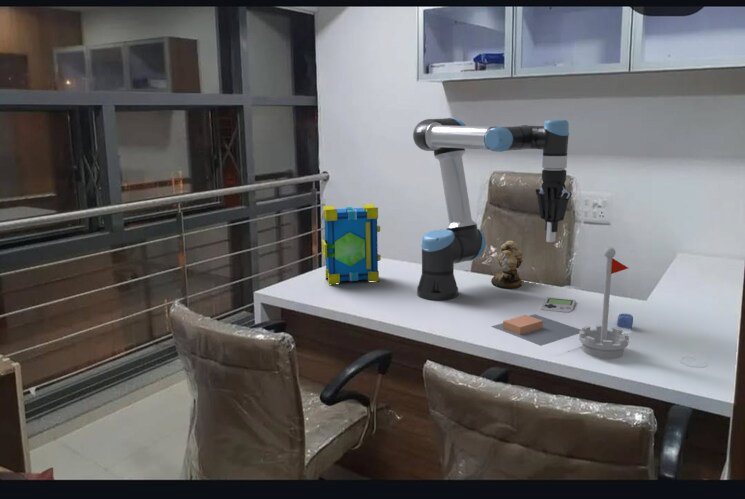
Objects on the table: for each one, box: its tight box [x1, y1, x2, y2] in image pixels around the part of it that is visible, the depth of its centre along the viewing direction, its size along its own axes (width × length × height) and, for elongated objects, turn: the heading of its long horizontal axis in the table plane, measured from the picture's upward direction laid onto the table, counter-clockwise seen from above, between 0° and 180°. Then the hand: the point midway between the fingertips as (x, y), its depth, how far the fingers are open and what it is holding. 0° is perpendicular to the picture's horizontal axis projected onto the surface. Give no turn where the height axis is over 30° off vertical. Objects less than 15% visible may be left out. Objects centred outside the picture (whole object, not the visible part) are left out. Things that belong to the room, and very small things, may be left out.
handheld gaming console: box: [540, 296, 577, 314], centre depth 216 cm, size 10×2×15 cm
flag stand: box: [578, 247, 630, 360], centre depth 173 cm, size 13×13×30 cm
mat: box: [491, 313, 582, 347], centre depth 193 cm, size 20×20×1 cm
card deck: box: [502, 314, 543, 335], centre depth 194 cm, size 7×2×10 cm
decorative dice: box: [616, 313, 634, 330], centre depth 195 cm, size 4×4×4 cm
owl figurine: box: [490, 240, 523, 290], centre depth 244 cm, size 18×12×17 cm, turn 175°
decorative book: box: [321, 203, 382, 285], centre depth 249 cm, size 14×23×30 cm, turn 100°
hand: (550, 241), depth 205 cm, fingers closed
